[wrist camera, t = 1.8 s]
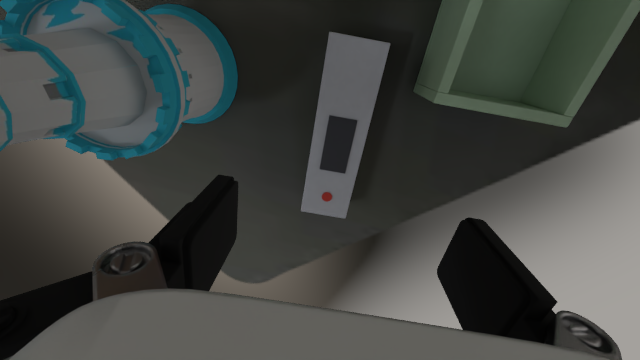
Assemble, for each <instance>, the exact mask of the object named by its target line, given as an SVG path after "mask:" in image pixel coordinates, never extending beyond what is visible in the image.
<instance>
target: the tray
mask: <svg viewBox="0 0 640 360" xmlns="http://www.w3.org/2000/svg"><path fill="white" fill-rule="evenodd" d="M639 10H640V0H442V2H441V5H440V9H439V12H438V15H437V18H436V21H435V24H434V27H433V31H432V34H431V37H430V40H429V43H428V46H427V49H426V53H425V56H424V59H423V62H422V65H421V68H420V71H419V75H418V78H417V81H416V84H415V87H414V90H413V92H415V93H417V94H418V95H420V96H422V97H424V98H426V99H427V100H429V101H431V102H433V103H436V104H441V105H447V106H452V107H458V108H463V109H468V110H474V111H479V112H485V113H490V114H496V115H501V116H506V117H512V118H517V119H523V120H528V121H534V122H539V123H544V124H550V125H555V126H561V127H568V125H569V124H570V122H571V120H572V119H573V117H574V116H575V114H576V113H577V111H578V109H579V108H580V106H581V105H582V103H583V101H584V100H585V98H586V96H587V95H588V93H589V92H590V90H591V88H592V87H593V85H594V83H595V82H596V80H597V79H598V77H599V75H600V74H601V72H602V70H603V69H604V67H605V66H606V64H607V62H608V61H609V59H610V58H611V56H612V54H613V53H614V51H615V49H616V48H617V46H618V45H619V43H620V41H621V40H622V38H623V36H624V35H625V33H626V32H627V30H628V28H629V27H630V25H631V23H632V22H633V20H634V19H635V17H636V15H637V14H638V12H639Z"/></svg>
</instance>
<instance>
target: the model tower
mask: <svg viewBox="0 0 640 360" xmlns="http://www.w3.org/2000/svg"><path fill="white" fill-rule="evenodd" d="M0 6H1V7H2V8H3V9H5V10H6V11H7V12H8V13H7V15H6V18H5V20H0V151H1V150H2V149H3V148H4V147H5V146H6V145H10V144H16V143H21V142H26V141H31V140H37V139H55V138H65V139H66V140H68V141H67V143H66V147H68V148H70V149H72V150H74V151H76V152H78V153H80V154H83V153H84V152H87V151H90V152H94V153H96V155H97V158H98V159H105V160H114V159H116V158H118V157H125V158H126V159H128V158H131V157H134V156H142V155H145V154H148V153H151V152H154V151H155V150H157V149H159V148H160V147H162V146H163V145H165V144H166V143H168V142H169V141H170V140H171V138H172V137H173V136H174V135H175V134H176V133H177V131H178V130H179V129H180V128H181V126H182V124H181V122H184V123H191V124H200V123H207V122H210V121H213V120H215V119H217V118H218V117H220V116H221V115H223V114H224V112H225V111H226V110H227V109H228V108H229V107H230V105H231V103H232V101H233V100H234V97H235V94H236V90H237V81H238V73H237V66H236V61H235V58H234V55H233V52H232V50H231V48H230V46H229V44H228V42H227V40H226V38H225V37H224V36H223V34H222V33H221V32H220V30H219V29H218V28H217V27H216V26H215V25H214V24H213V23H212V22H211V21H210V20H209V19H208V18H206V17H205V16H203V15H202V14H200V13H198V12H197V11H195V10H193V9H191V8H188V7H185V6H182V5H176V4H163V5H157V6H154V7H152V8H150V9H148V10H146V11H145V12H144V11H142V10H137V9H136V8H135V7H134V6H132V5H131V4H130V3H129V2H127V1H125V0H2V1H1V2H0Z"/></svg>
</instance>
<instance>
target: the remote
mask: <svg viewBox="0 0 640 360" xmlns="http://www.w3.org/2000/svg"><path fill="white" fill-rule="evenodd" d="M389 48H390V43H387V42H382V41H377V40H371V39H366V38H361V37H356V36H350V35H345V34H340V33H335V32H329V37H328V44H327V50H326V56H325V62H324V69H323V75H322V81H321V87H320V94H319V100H318V106H317V112H316V119H315V125H314V131H313V137H312V144H311V150H310V156H309V162H308V169H307V175H306V181H305V187H304V194H303V200H302V206H301V211H304V212H310V213H316V214H322V215H328V216H333V217H339V218H346V214H347V210H348V206H349V202H350V199H351V195H352V191H353V187H354V183H355V179H356V175H357V172H358V168H359V164H360V160H361V156H362V152H363V148H364V144H365V141H366V137H367V133H368V129H369V125H370V121H371V117H372V114H373V110H374V106H375V102H376V98H377V94H378V90H379V87H380V83H381V79H382V75H383V71H384V67H385V63H386V59H387V56H388V52H389Z"/></svg>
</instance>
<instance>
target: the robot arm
mask: <svg viewBox="0 0 640 360" xmlns="http://www.w3.org/2000/svg"><path fill="white" fill-rule="evenodd" d="M237 208H238V182H237V181H234V178H233V177H230V176H224V175H218V176H217V177H216V178H215V179H214V180H213V181H212V182H211V183H210V184H209V185H208V186H207V187H206V188H205V189H204V190H203V191H202V192H201V193H200V194H199V195H198V196H197V197H196V198H195V199H194V201H193V202H189V203H188V204H186V205H185V206H184V207H183V208H182V209H181V210H180V211H179V212H178V213H177V214H176V215H175V216H174V217H173V218H172V219H171V220H170V221H169V222H168V223H167V225H166V226H165V227H164V228H163V229H162V230H161V231H160V232H159V233H158V234H157V235H156V236H155V237H154V238H153V239H152V240H151V241H150V242H149V243H145V242H129V243H123V244H120V245H117V246H114V247H112V248H110V249H108V250H106V251H105V252H103V253H102V254H101V255H100V256H99V257H98V258H97V259H96V261H95V262H94V264H93V268H92V272H88V273H85V274H82V275H79V276H76V277H73V278H70V279H66V280H63V281H60V282H57V283H54V284H51V285H48V286H45V287H41V288H38V289H36V290H32V291H29V292H26V293H23V294H20V295H16V296H13V297H10V298H7V299H4V300H1V301H0V360H622V358H621V353H620V350H619V348H618V346H617V344H616V343H615V342H614V341H613V340H612V338H611V337H610V336H609V335H608V334H607V333H606V332H605V331H604V330H602V329H601V328H600V327H598V326H597V325H596V324H594V323H593V322H591V321H589V320H588V319H586V318H584V317H582V316H580V315H578V314H576V313H573V312H569V311H560V312H558V313H557V314H555V313H554V312H553V311H552V308H553V307H554V306H555V304H556V303H557V301H556V300H555V299H554V298H553V296H552V295H551V294H550V293H549V292H548V291H547V290H546V289H545V288H544V286H543V285H542V284H541V283H540V282H539V281H538V280H537V279H536V278H535V276H534V275H533V274H532V273H531V272H530V271H529V270H528V269H527V268H526V267H525V265H524V264H523V263H522V262H521V261H520V260H519V259H518V258H517V257H516V255H515V254H514V253H513V252H512V251H511V250H510V249H509V248H508V247H507V245H506V244H504V242H503V241H502V240H501V239H500V238H499V237H498V236H497V234H496V233H495V232H494V231H493V230H492V229H491V228H490V227H489V226H488V224H487V223H486V222H484V221H483V220H480V219H474V218H466V219H465V220H462V221H461V222H460V224H459V226H458V228H457V230H456V232H455V234H454V236H453V238H452V240H451V242H450V244H449V246H448V248H447V250H446V252H445V254H444V256H443V258H442V260H441V262H440V264H439V266H438V269H437V275H438V278H439V280H440V282H441V284H442V286H443V288H444V290H445V293H446V295H447V297H448V299H449V301H450V303H451V305H452V308H453V310H454V312H455V314H456V316H457V318H458V320H459V323H460V324H461V327H462V329H463V330H459V329H454V328H448V327H441V326H435V325H429V324H423V323H417V322H410V321H404V320H397V319H392V318H385V317H379V316H373V315H366V314H360V313H354V312H347V311H341V310H334V309H328V308H321V307H315V306H308V305H302V304H295V303H288V302H282V301H275V300H269V299H262V298H255V297H249V296H242V295H235V294H227V293H218V292H209V290H210V288H211V286H212V284H213V282H214V281H215V278H216V277H217V275H218V273H219V271H220V269H221V267H222V265H223V264H224V262H225V260H226V258H227V256H228V254H229V252H230V250H231V248H232V246H233V245H234V243H235V240H236V235H237Z"/></svg>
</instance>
